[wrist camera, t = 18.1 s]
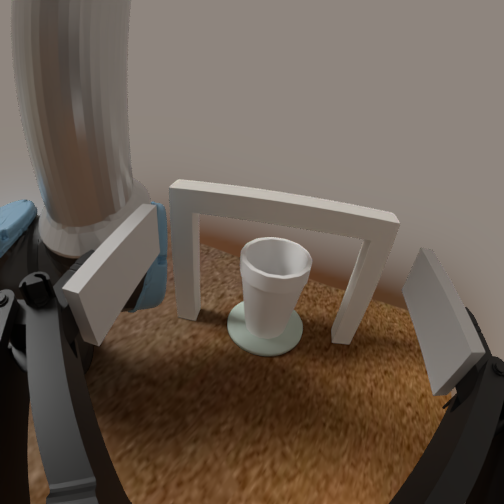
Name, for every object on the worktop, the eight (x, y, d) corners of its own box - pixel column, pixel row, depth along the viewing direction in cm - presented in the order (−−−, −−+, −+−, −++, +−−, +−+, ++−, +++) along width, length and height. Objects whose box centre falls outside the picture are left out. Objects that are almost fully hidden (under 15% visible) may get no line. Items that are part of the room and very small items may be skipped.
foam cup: (224, 314, 47) (228, 246, 39) (271, 296, 51) (282, 231, 44) (257, 356, 40) (269, 287, 33) (306, 332, 45) (326, 265, 38)
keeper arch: (168, 337, 42) (153, 202, 30) (191, 288, 52) (189, 168, 40) (351, 366, 40) (411, 242, 28) (345, 312, 50) (385, 199, 38)
